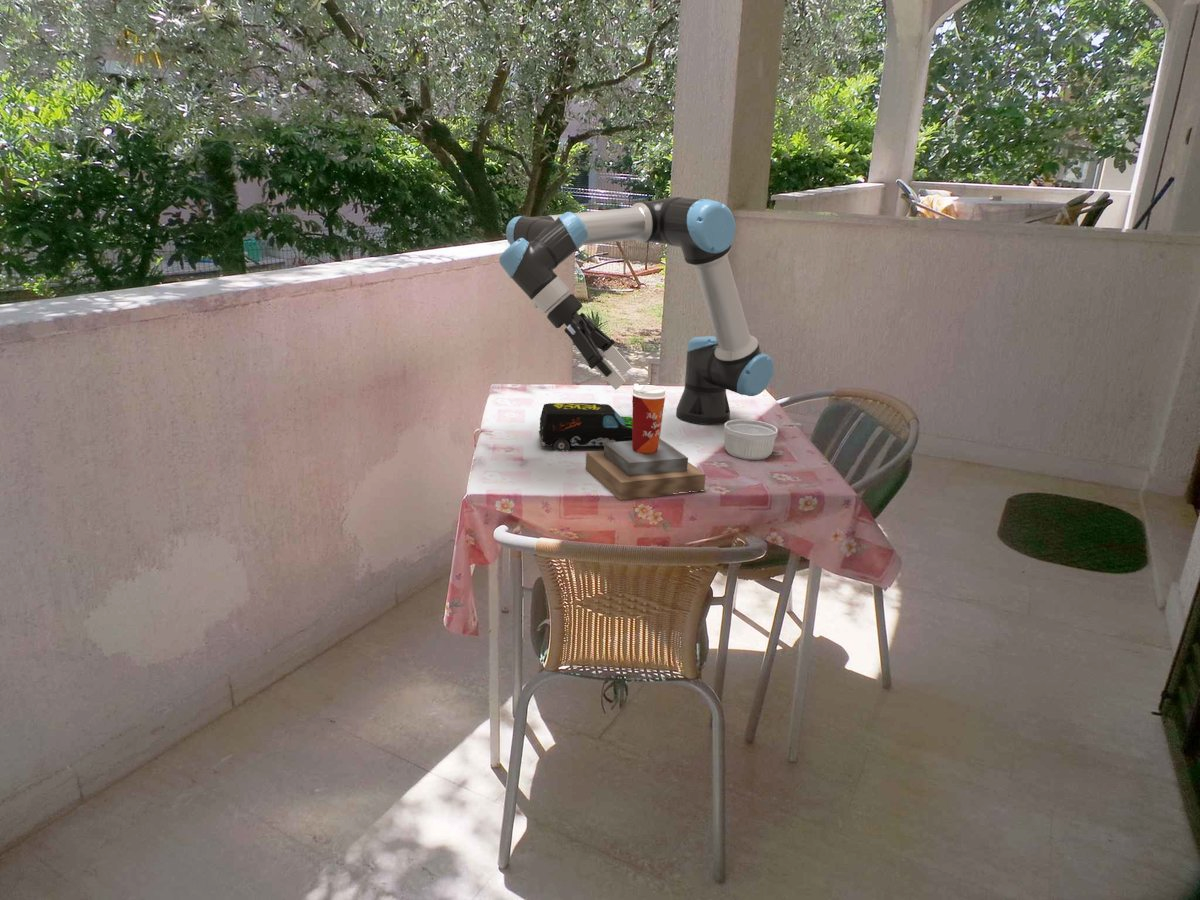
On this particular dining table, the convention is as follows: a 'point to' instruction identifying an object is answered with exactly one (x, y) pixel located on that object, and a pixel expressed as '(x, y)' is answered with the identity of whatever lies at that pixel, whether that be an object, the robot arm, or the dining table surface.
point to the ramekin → (749, 438)
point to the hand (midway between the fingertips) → (624, 378)
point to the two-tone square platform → (643, 471)
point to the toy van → (582, 425)
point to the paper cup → (647, 417)
